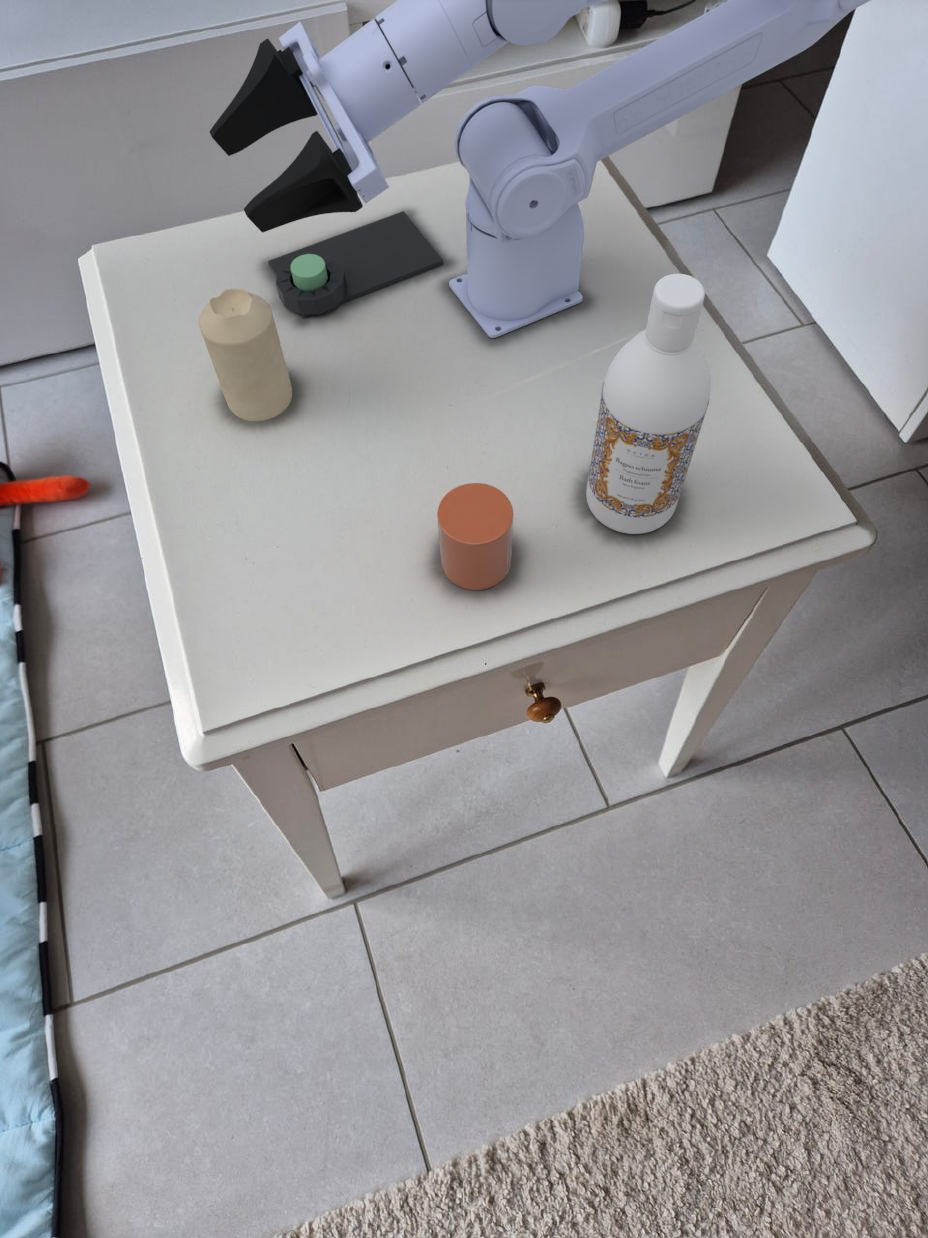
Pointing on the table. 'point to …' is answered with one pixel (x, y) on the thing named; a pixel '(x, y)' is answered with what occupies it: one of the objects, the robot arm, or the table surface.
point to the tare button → (309, 272)
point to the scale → (358, 264)
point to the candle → (246, 354)
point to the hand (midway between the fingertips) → (235, 181)
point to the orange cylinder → (475, 535)
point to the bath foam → (651, 414)
